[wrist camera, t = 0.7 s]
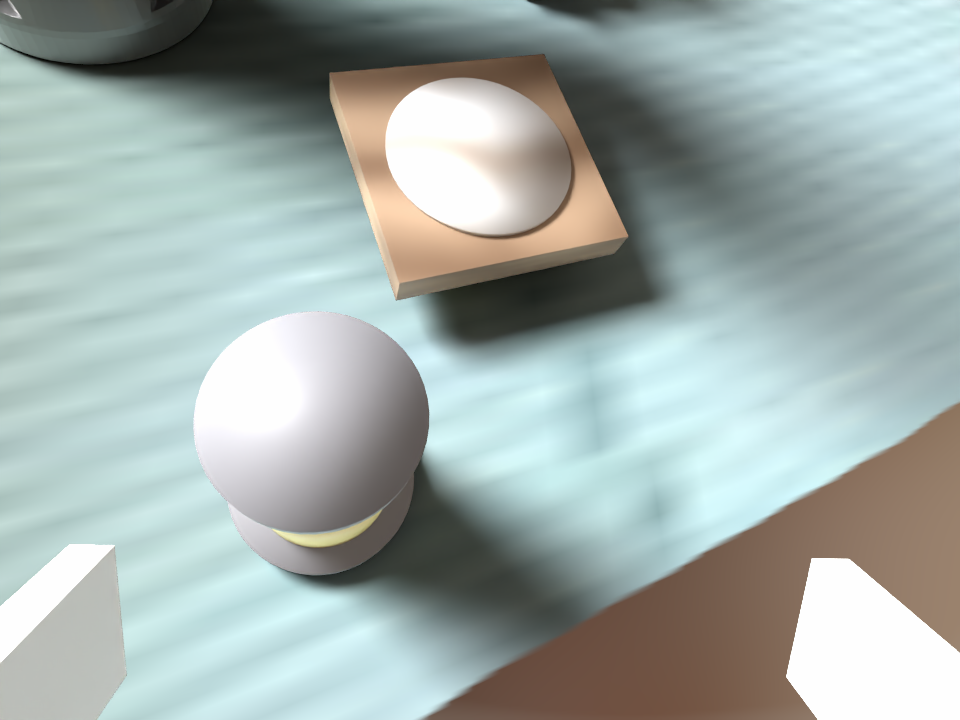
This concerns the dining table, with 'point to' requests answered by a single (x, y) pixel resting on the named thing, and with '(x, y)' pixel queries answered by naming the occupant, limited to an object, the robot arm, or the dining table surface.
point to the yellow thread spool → (313, 438)
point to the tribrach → (472, 171)
